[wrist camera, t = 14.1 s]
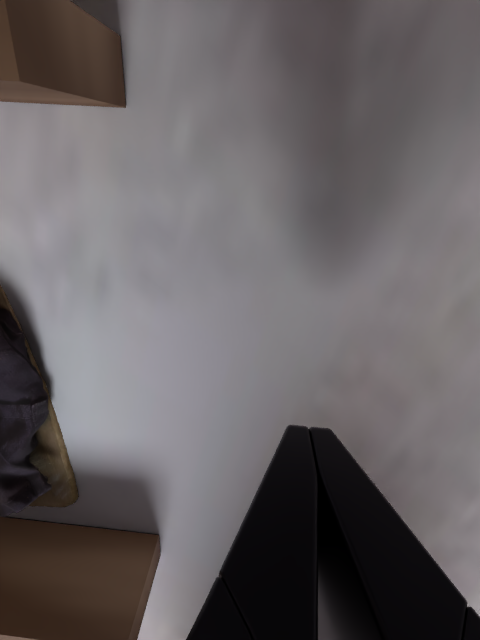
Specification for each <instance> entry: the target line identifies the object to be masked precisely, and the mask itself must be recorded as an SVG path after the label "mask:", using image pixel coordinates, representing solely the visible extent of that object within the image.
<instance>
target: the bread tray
mask: <svg viewBox="0 0 480 640" xmlns="http://www.w3.org/2000/svg"><path fill="white" fill-rule="evenodd" d="M0 101H2V102H22V103H42V104H62V105H82V106H102V107H122V108H126V103H125V91H124V78H123V65H122V52H121V39H120V36H119V35H118V34H117V33H115V32H114V31H112V30H111V29H109V28H108V27H107V26H105V25H104V24H102V23H101V22H100V21H98V20H97V19H95V18H94V17H92V16H91V15H90V14H88V13H87V12H85V11H84V10H82V9H81V8H80V7H78V6H77V5H75V4H74V3H73V2H71V1H70V0H0ZM160 555H161V554H160V541H159V535H153V534H145V533H136V532H128V531H119V530H110V529H102V528H93V527H84V526H76V525H67V524H58V523H50V522H41V521H33V520H24V519H15V518H7V517H0V640H137V638H138V634H139V630H140V627H141V623H142V620H143V616H144V612H145V609H146V605H147V602H148V598H149V594H150V591H151V587H152V584H153V580H154V576H155V573H156V569H157V566H158V562H159V558H160Z"/></svg>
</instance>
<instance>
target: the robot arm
mask: <svg viewBox="0 0 480 640" xmlns="http://www.w3.org/2000/svg"><path fill="white" fill-rule="evenodd" d="M186 640H480V617H479V616H478V614H477V613H476V612H475V610H474V609H473V608H472V607H467V601H466V599H465V598H464V597H463V596H462V594H461V593H460V592H459V591H458V589H457V588H456V587H455V586H454V584H453V583H452V582H451V581H450V579H449V578H448V577H447V575H446V574H445V573H444V572H443V570H442V569H441V568H440V567H439V565H438V564H437V563H436V562H435V560H434V559H433V558H432V557H431V555H430V554H429V553H428V551H427V550H426V549H425V548H424V546H423V545H422V544H421V543H420V541H419V540H418V539H417V538H416V536H415V535H414V534H413V533H412V531H411V530H410V529H409V527H408V526H407V525H406V524H405V522H404V521H403V520H402V519H401V517H400V516H399V515H398V514H397V512H396V511H395V510H394V509H393V507H392V506H391V505H390V504H389V502H388V501H387V500H386V498H385V497H384V496H383V495H382V493H381V492H380V491H379V490H378V488H377V487H376V486H375V485H374V483H373V482H372V481H371V480H370V478H369V477H368V476H367V474H366V473H365V472H364V471H363V469H362V468H361V467H360V466H359V464H358V463H357V462H356V461H355V459H354V458H353V457H352V456H351V454H350V453H349V452H348V450H347V449H346V448H345V447H344V445H343V444H342V443H341V442H340V440H339V439H338V438H337V437H336V435H335V434H334V433H333V432H332V430H330V429H328V428H319V427H311V428H309V429H308V427H306V426H298V425H289V426H287V428H286V430H285V432H284V434H283V437H282V439H281V441H280V443H279V445H278V447H277V449H276V452H275V454H274V456H273V458H272V460H271V462H270V464H269V467H268V469H267V471H266V473H265V475H264V477H263V479H262V482H261V484H260V486H259V488H258V490H257V492H256V495H255V497H254V499H253V501H252V503H251V505H250V507H249V510H248V512H247V514H246V516H245V518H244V520H243V522H242V525H241V527H240V529H239V531H238V533H237V535H236V537H235V540H234V542H233V544H232V546H231V548H230V550H229V553H228V555H227V557H226V559H225V561H224V563H223V565H222V568H221V570H220V572H219V577H217V578H216V580H215V582H214V584H213V586H212V588H211V590H210V592H209V595H208V597H207V599H206V601H205V603H204V605H203V607H202V609H201V611H200V613H199V615H198V617H197V619H196V621H195V623H194V625H193V627H192V629H191V631H190V633H189V635H188V637H187V639H186Z"/></svg>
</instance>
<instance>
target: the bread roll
mask: <svg viewBox="0 0 480 640" xmlns="http://www.w3.org/2000/svg"><path fill="white" fill-rule="evenodd" d="M78 497H79V496H78V490H77V486H76V481H75V477H74V473H73V470H72V466H71V464H70V461H69V457H68V453H67V449H66V446H65V443H64V440H63V436H62V432H61V429H60V426H59V423H58V421H57V417H56V413H55V411H54V408H53V405H52V402H51V399H50V396H49V392H48V389H47V387H46V383H45V381H44V380H43V378H42V376H41V374H40V371H39V369H38V366H37V364H36V362H35V359H34V357H33V355H32V353H31V350H30V347H29V345H28V343H27V340H26V338H25V336H24V333H23V331H22V329H21V327H20V324H19V322H18V320H17V318H16V316H15V314H14V311H13V309H12V307H11V305H10V304H9V301H8V298H7V296H6V294H5V292H4V290H3V289H2V287H1V285H0V516H1V517H5V516H7V515H9V514H11V513H12V512H16V513H18V512H20V511H21V510H23V509H24V508H26V507H27V506H47V507H66V506H69V505H71V504H73V503H75V501H76V500H77V499H78Z"/></svg>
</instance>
